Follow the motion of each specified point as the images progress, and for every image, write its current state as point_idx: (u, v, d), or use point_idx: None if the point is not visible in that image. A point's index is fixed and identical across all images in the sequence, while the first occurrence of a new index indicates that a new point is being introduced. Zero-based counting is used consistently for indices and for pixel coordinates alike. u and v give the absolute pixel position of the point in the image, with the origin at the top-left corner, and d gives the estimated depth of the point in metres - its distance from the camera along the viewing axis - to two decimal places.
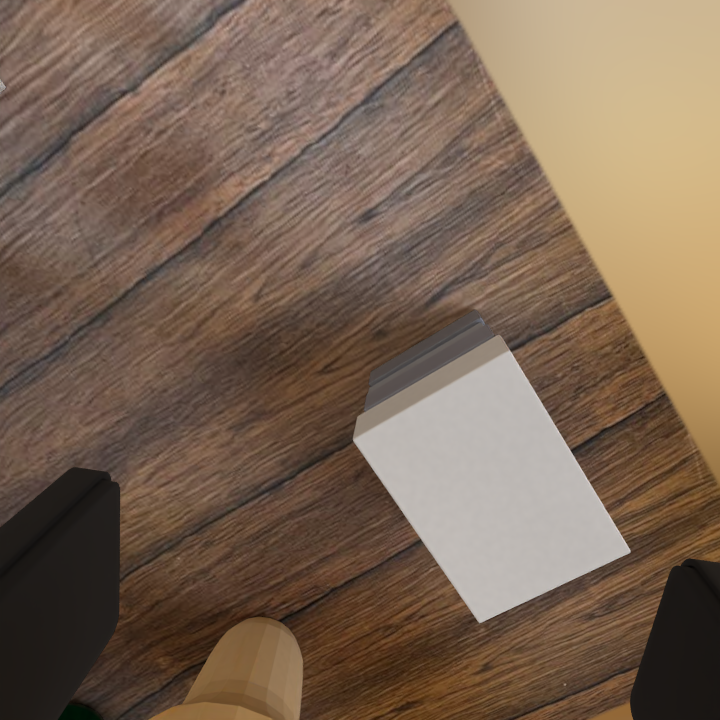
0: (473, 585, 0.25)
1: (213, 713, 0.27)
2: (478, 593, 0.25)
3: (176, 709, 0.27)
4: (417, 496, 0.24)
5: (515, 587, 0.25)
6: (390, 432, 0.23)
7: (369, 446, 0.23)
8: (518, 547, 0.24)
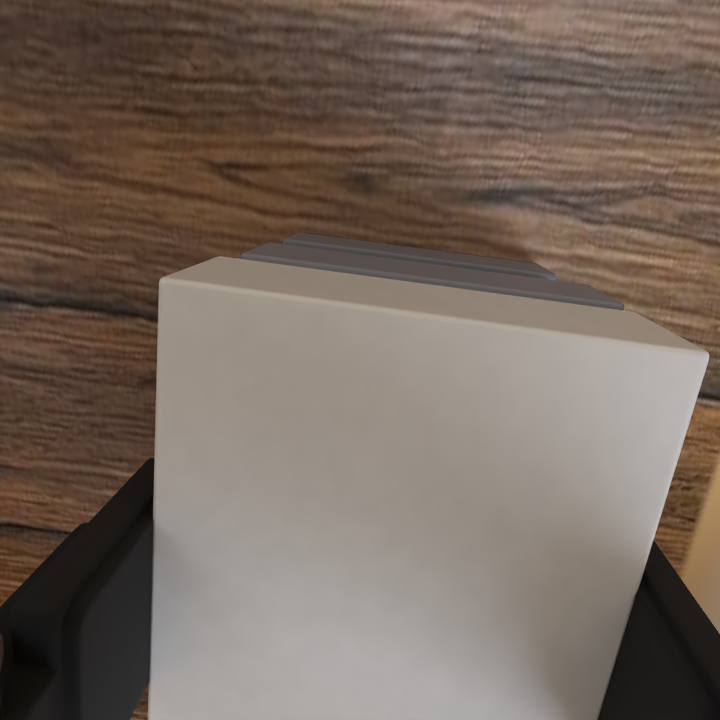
0: None
1: None
2: None
3: None
4: (212, 523, 0.08)
5: None
6: (268, 334, 0.08)
7: (189, 328, 0.08)
8: None
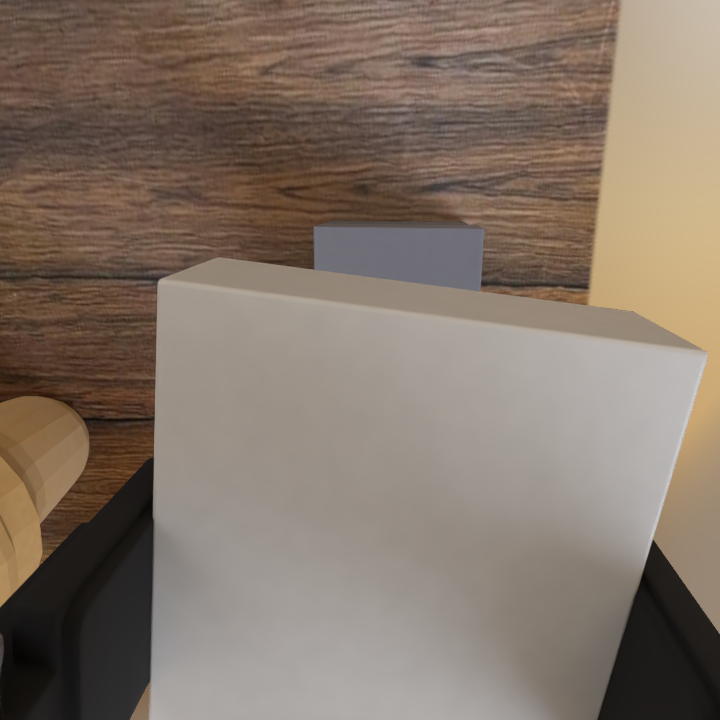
0: None
1: None
2: None
3: None
4: (212, 524, 0.08)
5: None
6: (267, 335, 0.08)
7: (188, 329, 0.08)
8: None
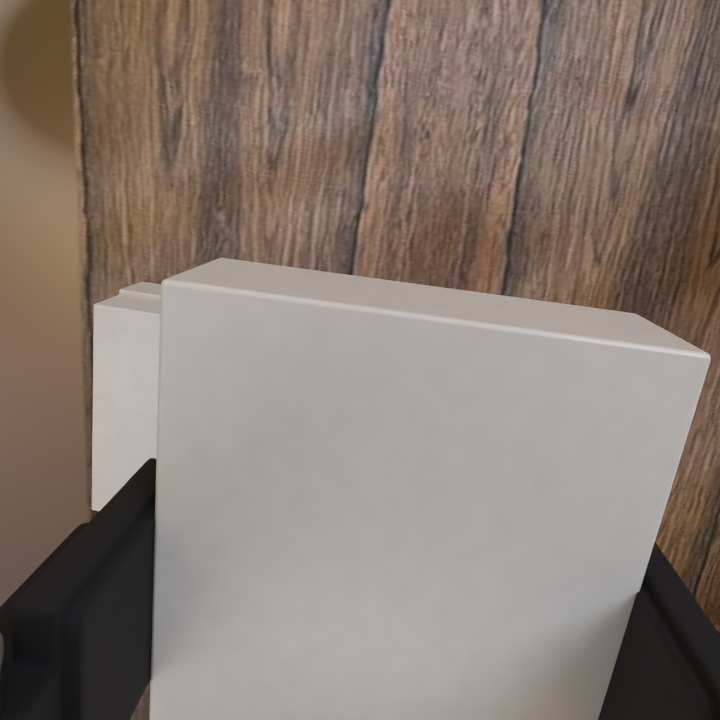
0: None
1: None
2: None
3: None
4: (214, 525, 0.08)
5: None
6: (270, 336, 0.08)
7: (192, 329, 0.08)
8: None
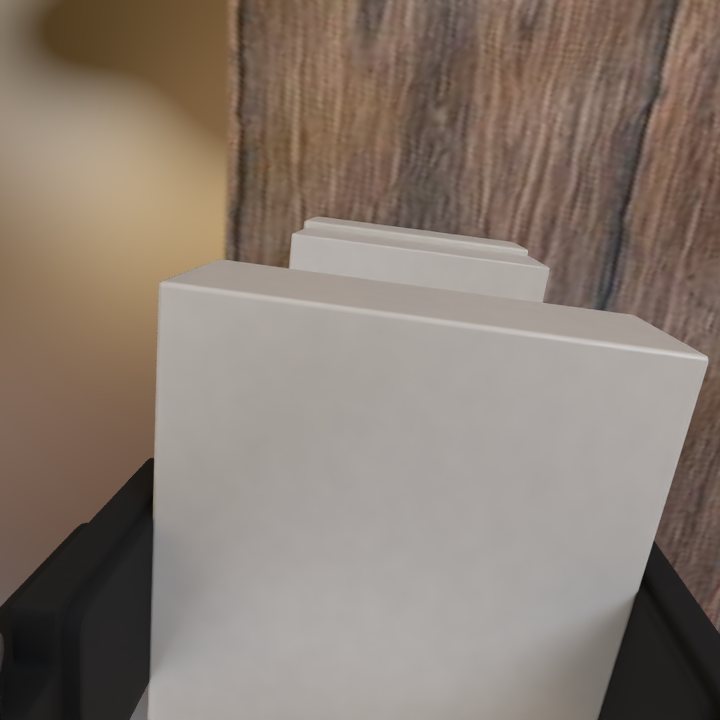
0: None
1: None
2: None
3: None
4: (212, 527, 0.08)
5: None
6: (267, 338, 0.08)
7: (188, 331, 0.08)
8: None
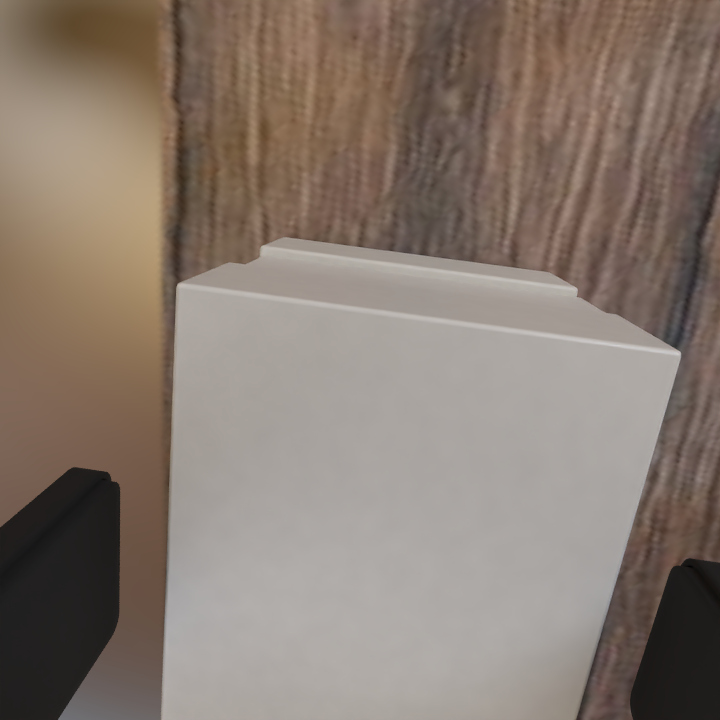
0: None
1: None
2: None
3: None
4: (224, 511, 0.09)
5: None
6: (277, 334, 0.08)
7: (203, 329, 0.08)
8: None
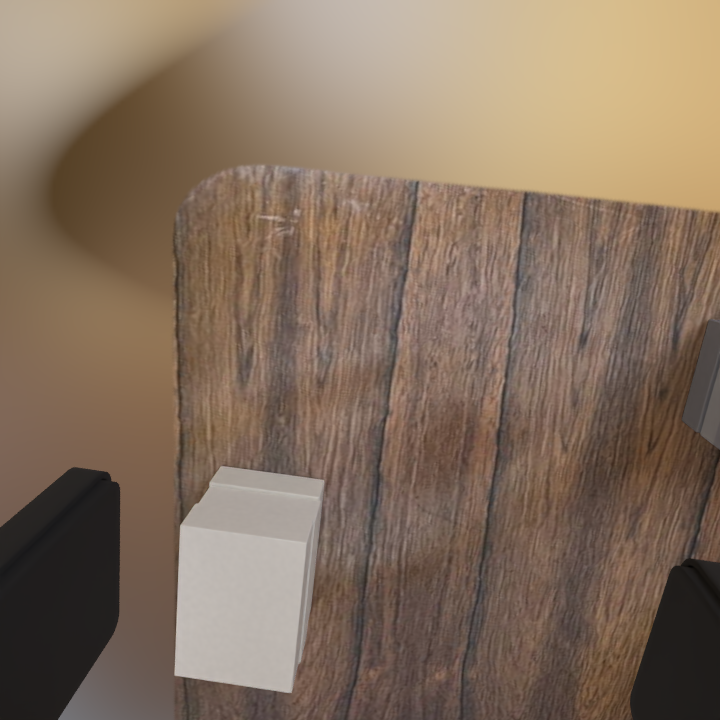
0: (187, 652, 0.34)
1: None
2: (187, 658, 0.34)
3: None
4: (193, 582, 0.33)
5: (211, 669, 0.34)
6: (206, 537, 0.32)
7: (187, 536, 0.32)
8: (230, 649, 0.34)
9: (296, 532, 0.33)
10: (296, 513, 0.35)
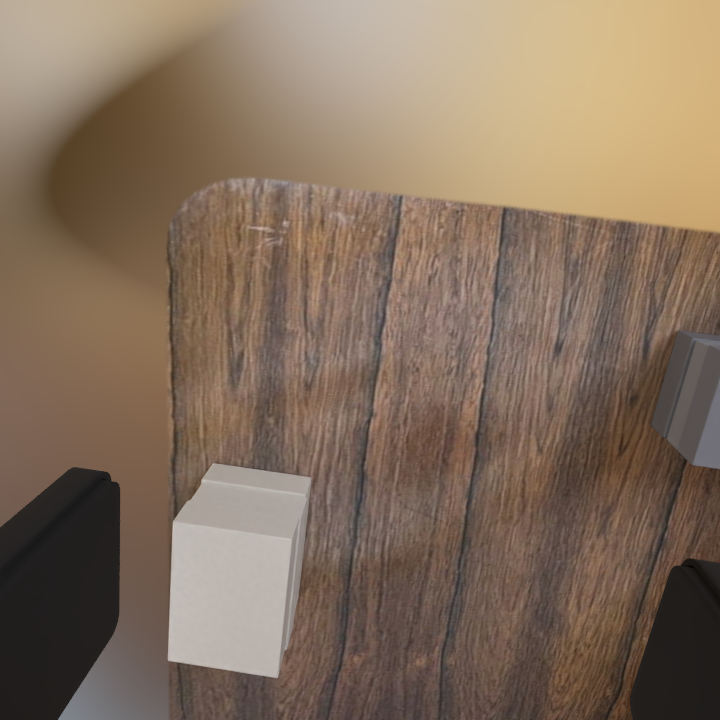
0: (180, 639, 0.36)
1: None
2: (179, 645, 0.37)
3: None
4: (185, 574, 0.35)
5: (202, 655, 0.37)
6: (197, 533, 0.34)
7: (179, 531, 0.34)
8: (219, 636, 0.36)
9: (282, 529, 0.35)
10: (283, 510, 0.37)
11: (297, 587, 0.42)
